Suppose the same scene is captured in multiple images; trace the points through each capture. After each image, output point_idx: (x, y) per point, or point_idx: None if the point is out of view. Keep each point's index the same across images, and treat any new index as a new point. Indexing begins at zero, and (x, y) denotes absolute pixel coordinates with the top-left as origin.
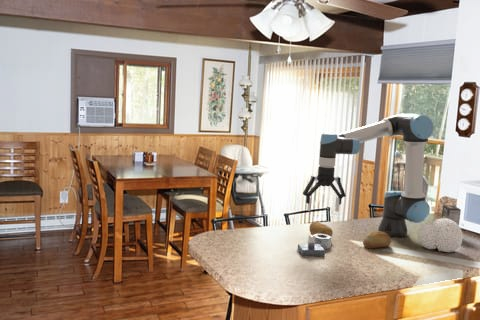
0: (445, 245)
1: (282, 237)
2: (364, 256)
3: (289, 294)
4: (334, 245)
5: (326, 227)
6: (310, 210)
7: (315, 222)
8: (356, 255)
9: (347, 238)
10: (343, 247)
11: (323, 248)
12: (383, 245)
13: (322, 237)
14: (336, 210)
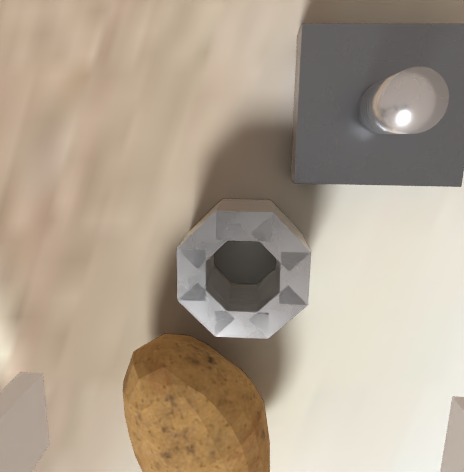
0: None
1: (445, 429)
2: (8, 49)
3: None
4: (148, 274)
5: (168, 398)
6: (457, 400)
7: None
8: (58, 70)
9: None
10: (100, 234)
11: (248, 200)
12: None
13: (227, 302)
14: (37, 401)
